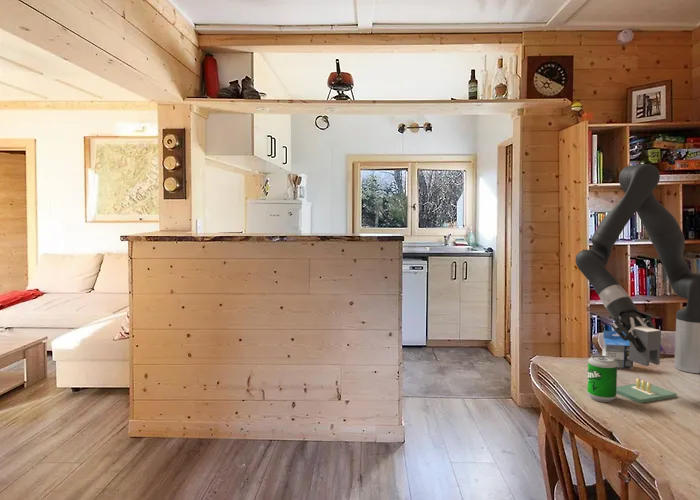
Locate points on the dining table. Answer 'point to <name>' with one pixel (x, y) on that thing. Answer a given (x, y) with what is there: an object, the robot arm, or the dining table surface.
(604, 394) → the soda can
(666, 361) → the dining table surface
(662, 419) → the dining table surface
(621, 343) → the blue retail box
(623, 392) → the board
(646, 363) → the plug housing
